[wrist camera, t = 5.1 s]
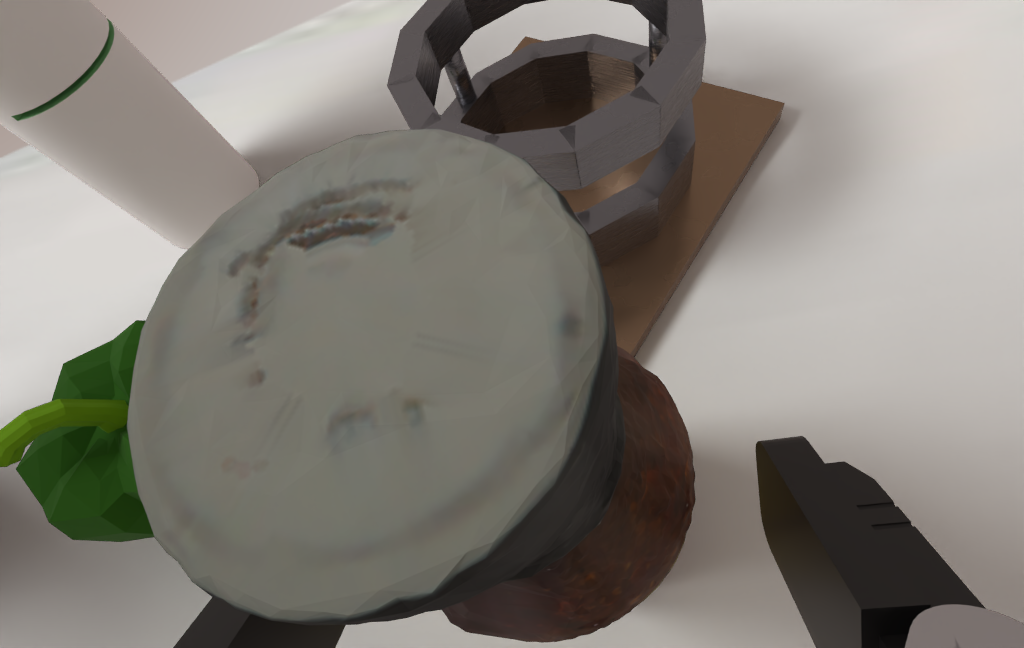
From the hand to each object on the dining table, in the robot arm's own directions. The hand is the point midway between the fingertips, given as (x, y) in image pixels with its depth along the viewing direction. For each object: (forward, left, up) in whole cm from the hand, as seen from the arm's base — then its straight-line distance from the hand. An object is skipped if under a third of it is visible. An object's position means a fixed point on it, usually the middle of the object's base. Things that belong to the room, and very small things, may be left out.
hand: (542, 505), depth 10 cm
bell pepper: (-6, +17, -13) cm, 22 cm away
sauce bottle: (+1, +1, -13) cm, 13 cm away
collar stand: (+15, +11, -12) cm, 22 cm away
